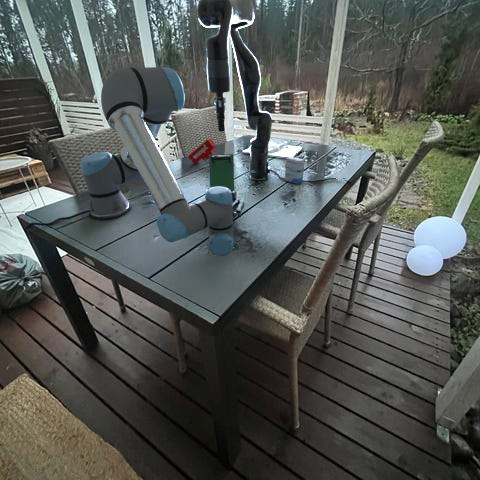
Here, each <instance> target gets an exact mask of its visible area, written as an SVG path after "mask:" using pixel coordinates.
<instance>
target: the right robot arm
mask: <svg viewBox="0 0 480 480" xmlns="http://www.w3.org/2000/svg"><path fill="white" fill-rule="evenodd" d="M196 15H197V19H198V21H199V23H200V24H201V25H202V27H205V28H218V27H219V29H218V32H217V34H215V35H212V36H209V37H208V38H206V41H205V51H206V75H207V90H208V92H209V93H211V94H215V95H216V96H215V97H214V99H213V100H214V101H213V102H214V106H215V114H216V120H217V126H218V132H225V130H226V129H225V127H226V126H225V119H226V115H225V113H226V103H227V102H226V101H227V100H226V98H227V97H224V93H230V91H231V70H230V60H229V38H230V40H231V45H232V48H233V53H234V59H235V62H236V69H237V73H238V77H239V82H240V86H241V90H242V96H243V100H244V106H245V113H246V115H245V116H246V122H247V124H248V127H249V129H251V131H254V132H256V134H255V137H254V138H251V139H250V146H251V148H250V154H249V157H250V158H249V160H250V161H249V165H250V166H249V167H250V168H249V178H250V180H253V181H256V182H257V181H265V180H268V179H269V174H270V173H271V172H272V173H273V174H275V175H276V176H277V177H278V179H279V180H284V181H285V177H281V176H280V175H279V174H278V172H277V171H274V170H273V169H271V166H269V156H268V145H269V141H270V139H271V136H272V128H273V127H272V126H273V120H272V115H271V113H270V112H268V111H262V110H261V109H260V106H259V97H258V96H259V91H260V87H261V82H262V81H261V80H262V77H261V71H260V66H259V62H258V59H257V58H256V57H255V56H254V54H253V53H252V51H250V49H249V48H248V47H247V46H246V44H245V43H244V42H243V40H242V37H241V35H240V32H239V30H238V29H242V28H245V27H248V26H250V25H252V24H253V22H254V19H255V8H254V4H253V1H252V0H199V2H198V3H197V7H196ZM336 178H337V177H328V178H323V179H324V180H323V179H316V180H317V181H316V180H304V179H303V180H302V182H301V183H319V182H326V181H329V180H333V181H334V180H335V181H336V180H337V179H336ZM342 178H343V179H346V178H344V177H342ZM346 182H347V183H349V184H351V181H350V180H349V181H346Z"/></svg>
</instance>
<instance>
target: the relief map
mask: <svg viewBox="0 0 480 480" xmlns="http://www.w3.org/2000/svg"><path fill="white" fill-rule="evenodd" d="M302 147H303V146H294V145H292V144H290V143H289V142H288V141H284V142H282V143H280V144H279V143H278V142H276V141H273V140H272V139H271V138H270V141H269V145H268V157H271V158H277V159H285V160H286V159H287V158H289V157H296V156H297V155H298V154H299V153H300V152H302V151H303V150H304V148H303V149H302ZM250 148H251V145H250V146H249V147H248V148H247V149H245V150H242V153H243V154H247V155H248V154H249V155H250ZM296 153H297V154H296Z"/></svg>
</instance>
